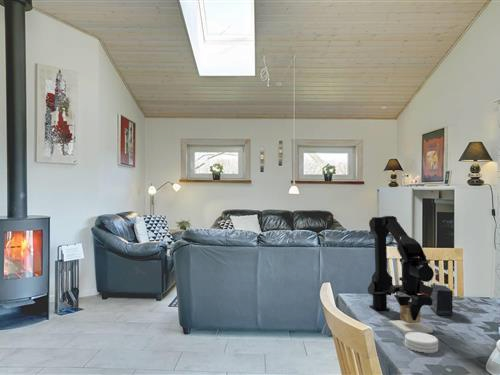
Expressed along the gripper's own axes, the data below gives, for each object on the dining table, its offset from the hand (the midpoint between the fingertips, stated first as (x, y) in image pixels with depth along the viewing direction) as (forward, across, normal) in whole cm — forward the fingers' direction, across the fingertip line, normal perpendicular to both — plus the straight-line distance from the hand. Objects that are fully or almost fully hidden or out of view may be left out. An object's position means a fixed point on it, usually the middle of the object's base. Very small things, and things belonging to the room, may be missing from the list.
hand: (409, 317), depth 140 cm
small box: (+4, +16, -25) cm, 30 cm away
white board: (+4, 0, 0) cm, 4 cm away
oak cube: (+1, 0, 0) cm, 1 cm away
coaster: (+4, -17, +7) cm, 19 cm away
